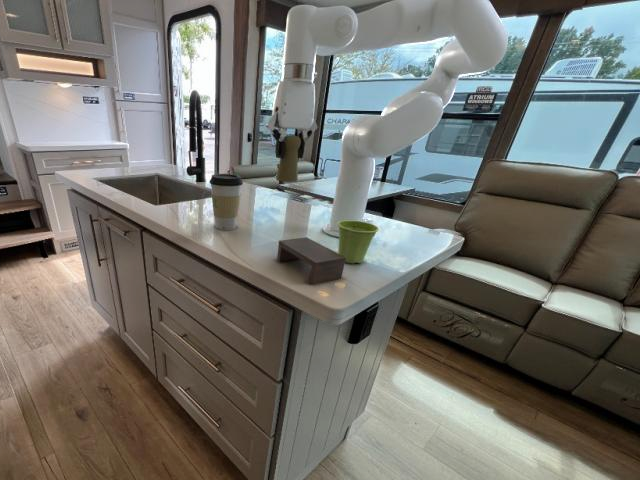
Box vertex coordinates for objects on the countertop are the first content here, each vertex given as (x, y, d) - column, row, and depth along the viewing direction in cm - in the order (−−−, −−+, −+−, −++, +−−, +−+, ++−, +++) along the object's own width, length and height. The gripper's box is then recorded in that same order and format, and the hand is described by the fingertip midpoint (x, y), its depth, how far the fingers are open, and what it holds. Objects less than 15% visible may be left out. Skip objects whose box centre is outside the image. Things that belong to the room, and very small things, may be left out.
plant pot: (336, 249, 85) (343, 217, 81) (372, 257, 81) (382, 224, 77) (326, 260, 78) (333, 226, 74) (365, 270, 74) (375, 234, 70)
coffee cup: (222, 220, 105) (223, 172, 97) (247, 226, 100) (249, 176, 92) (203, 227, 98) (202, 175, 90) (228, 233, 93) (229, 180, 85)
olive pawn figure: (296, 182, 85) (302, 136, 79) (274, 180, 86) (278, 135, 80) (298, 179, 90) (303, 135, 84) (277, 177, 91) (281, 134, 85)
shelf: (303, 256, 80) (306, 237, 78) (341, 278, 69) (346, 257, 67) (276, 260, 77) (278, 240, 74) (312, 284, 66) (315, 262, 64)
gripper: (317, 79, 82) (307, 156, 91) (259, 73, 76) (254, 156, 85) (336, 77, 76) (323, 159, 85) (274, 70, 70) (267, 159, 79)
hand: (289, 157), depth 85 cm, fingers closed on olive pawn figure, 5 cm apart
